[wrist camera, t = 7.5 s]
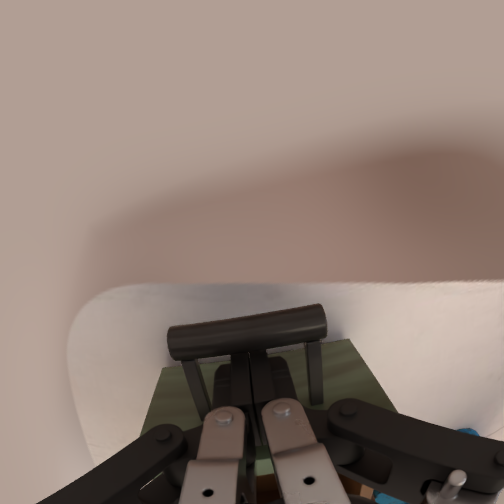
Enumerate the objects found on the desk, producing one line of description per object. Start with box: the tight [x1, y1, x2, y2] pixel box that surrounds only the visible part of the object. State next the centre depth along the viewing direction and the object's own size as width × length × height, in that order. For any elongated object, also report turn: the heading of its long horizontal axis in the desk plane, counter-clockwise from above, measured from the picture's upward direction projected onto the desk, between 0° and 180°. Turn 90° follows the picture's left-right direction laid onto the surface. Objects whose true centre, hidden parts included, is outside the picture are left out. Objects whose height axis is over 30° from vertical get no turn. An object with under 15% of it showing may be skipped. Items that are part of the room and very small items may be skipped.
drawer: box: [140, 303, 398, 504], centre depth 15 cm, size 19×11×8 cm, turn 9°
